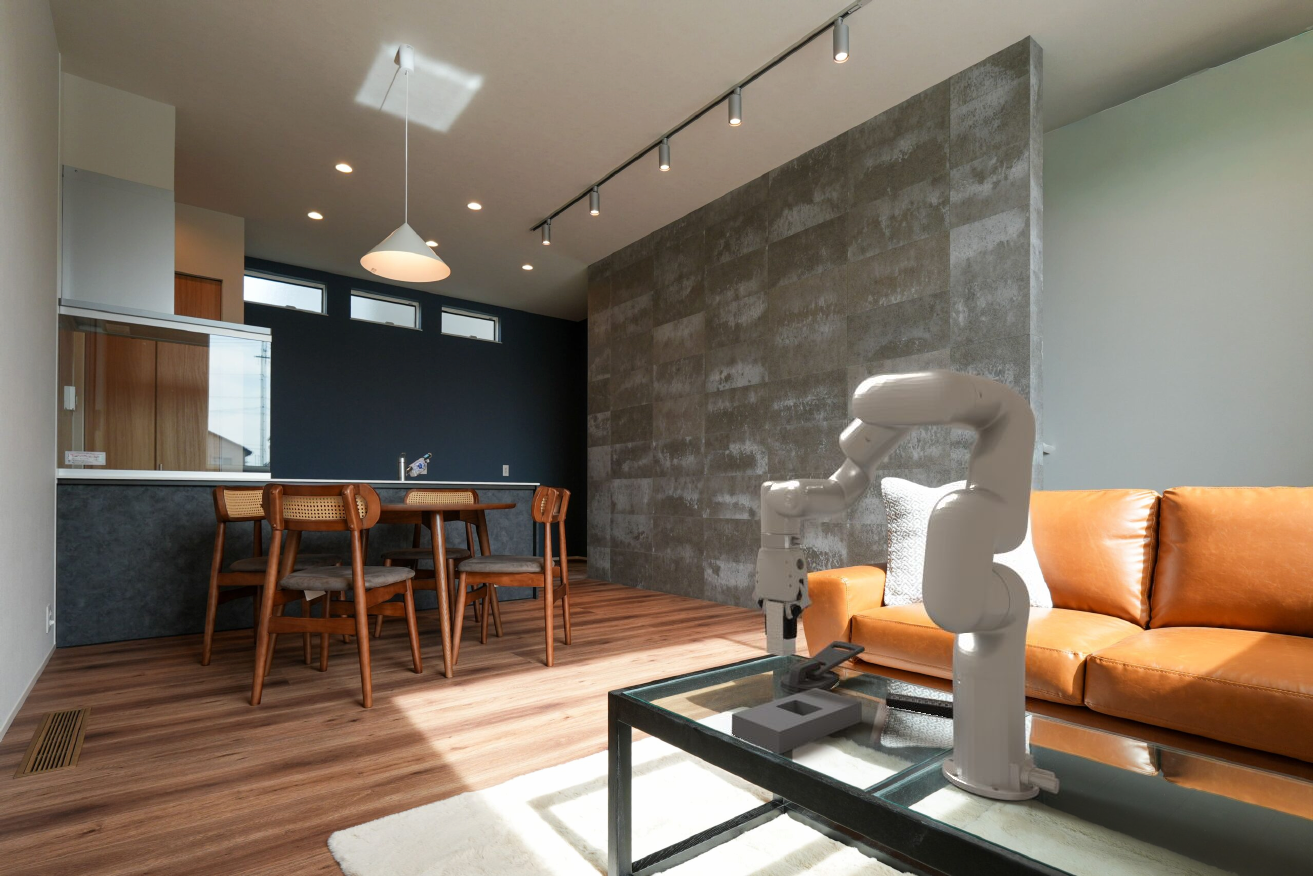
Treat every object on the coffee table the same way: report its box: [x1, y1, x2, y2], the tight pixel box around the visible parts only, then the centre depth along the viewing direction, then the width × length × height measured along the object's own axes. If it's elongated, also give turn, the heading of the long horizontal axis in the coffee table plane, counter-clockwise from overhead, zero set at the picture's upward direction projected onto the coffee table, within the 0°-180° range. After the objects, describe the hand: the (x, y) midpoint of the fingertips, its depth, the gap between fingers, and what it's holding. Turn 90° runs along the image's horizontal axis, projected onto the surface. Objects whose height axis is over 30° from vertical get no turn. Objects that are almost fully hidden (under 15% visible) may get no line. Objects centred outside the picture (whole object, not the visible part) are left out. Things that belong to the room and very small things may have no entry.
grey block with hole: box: [731, 688, 863, 755], centre depth 114 cm, size 10×24×4 cm, turn 131°
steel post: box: [766, 600, 797, 657], centre depth 128 cm, size 4×4×10 cm
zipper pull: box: [780, 640, 866, 695], centre depth 142 cm, size 9×7×25 cm
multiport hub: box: [885, 692, 953, 720], centre depth 125 cm, size 4×14×2 cm, turn 66°
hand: (780, 635), depth 128 cm, fingers closed on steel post, 4 cm apart
